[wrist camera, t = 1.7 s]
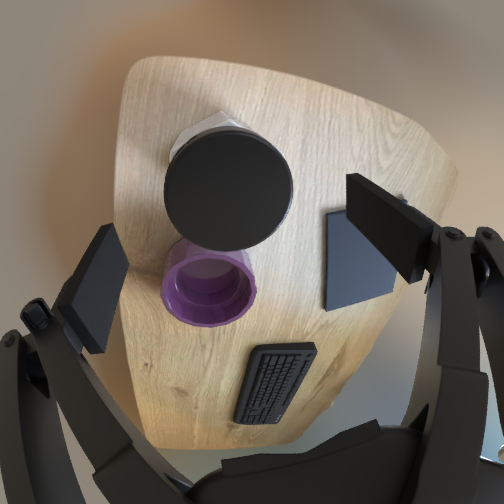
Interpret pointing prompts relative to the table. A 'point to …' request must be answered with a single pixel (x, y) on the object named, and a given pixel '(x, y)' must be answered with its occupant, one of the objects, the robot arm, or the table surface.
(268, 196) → the jar
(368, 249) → the placemat
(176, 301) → the bowl
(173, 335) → the table surface
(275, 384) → the keyboard
